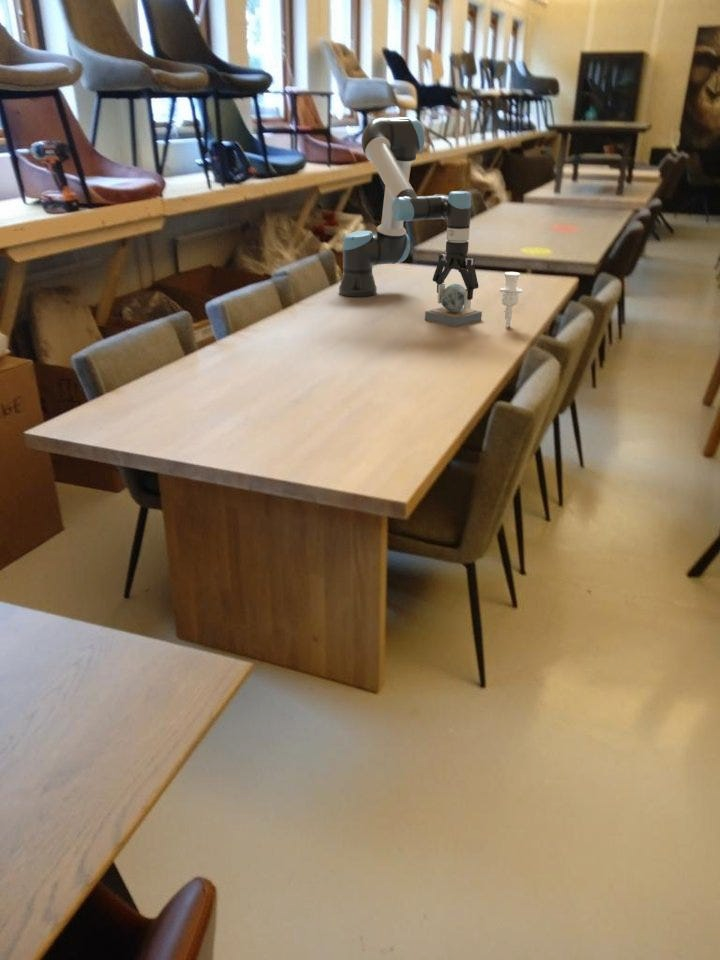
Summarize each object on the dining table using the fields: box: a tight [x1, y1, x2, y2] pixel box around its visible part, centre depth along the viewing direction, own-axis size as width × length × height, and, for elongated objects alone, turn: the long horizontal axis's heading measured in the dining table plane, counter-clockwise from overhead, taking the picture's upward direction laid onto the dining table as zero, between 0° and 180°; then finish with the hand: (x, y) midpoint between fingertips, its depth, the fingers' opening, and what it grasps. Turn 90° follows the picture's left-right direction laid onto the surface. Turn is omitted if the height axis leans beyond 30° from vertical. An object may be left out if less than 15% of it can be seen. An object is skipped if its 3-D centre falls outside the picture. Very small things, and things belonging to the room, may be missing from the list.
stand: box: [424, 306, 483, 328], centre depth 262 cm, size 14×14×3 cm
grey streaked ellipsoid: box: [440, 283, 467, 312], centre depth 259 cm, size 14×10×10 cm
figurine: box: [498, 271, 523, 328], centre depth 250 cm, size 10×8×18 cm
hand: (453, 305), depth 261 cm, fingers closed on grey streaked ellipsoid, 11 cm apart
